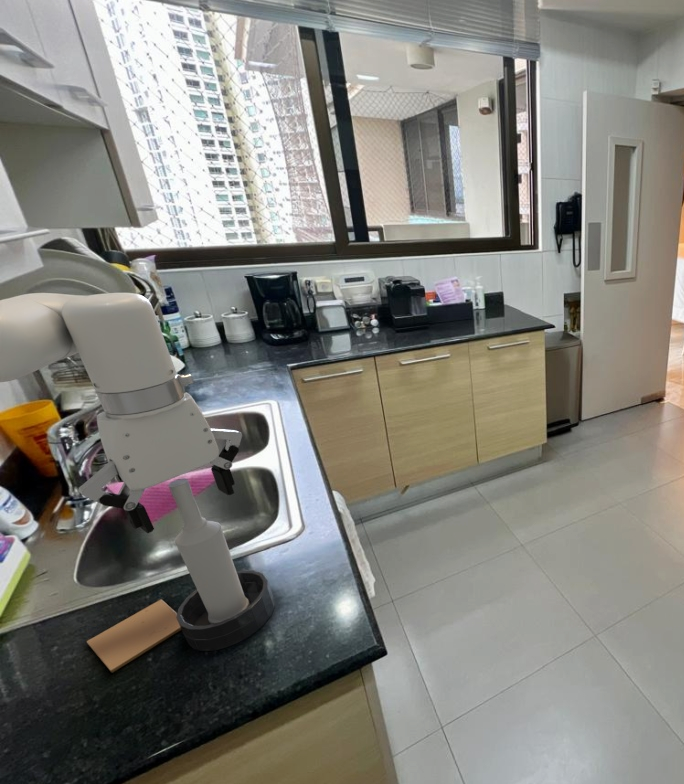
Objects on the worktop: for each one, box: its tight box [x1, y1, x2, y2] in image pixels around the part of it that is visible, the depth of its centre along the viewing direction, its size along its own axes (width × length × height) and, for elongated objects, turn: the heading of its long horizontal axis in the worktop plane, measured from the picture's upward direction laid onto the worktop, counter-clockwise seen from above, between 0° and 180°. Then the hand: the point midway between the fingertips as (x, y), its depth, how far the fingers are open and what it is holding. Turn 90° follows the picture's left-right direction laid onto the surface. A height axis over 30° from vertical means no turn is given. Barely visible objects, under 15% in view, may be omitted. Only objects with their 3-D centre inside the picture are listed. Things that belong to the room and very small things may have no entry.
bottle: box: [167, 478, 250, 624], centre depth 68 cm, size 5×5×25 cm
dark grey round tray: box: [176, 569, 276, 652], centre depth 72 cm, size 11×11×4 cm
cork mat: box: [86, 599, 182, 673], centre depth 70 cm, size 9×9×1 cm
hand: (188, 509), depth 64 cm, fingers open, 9 cm apart
